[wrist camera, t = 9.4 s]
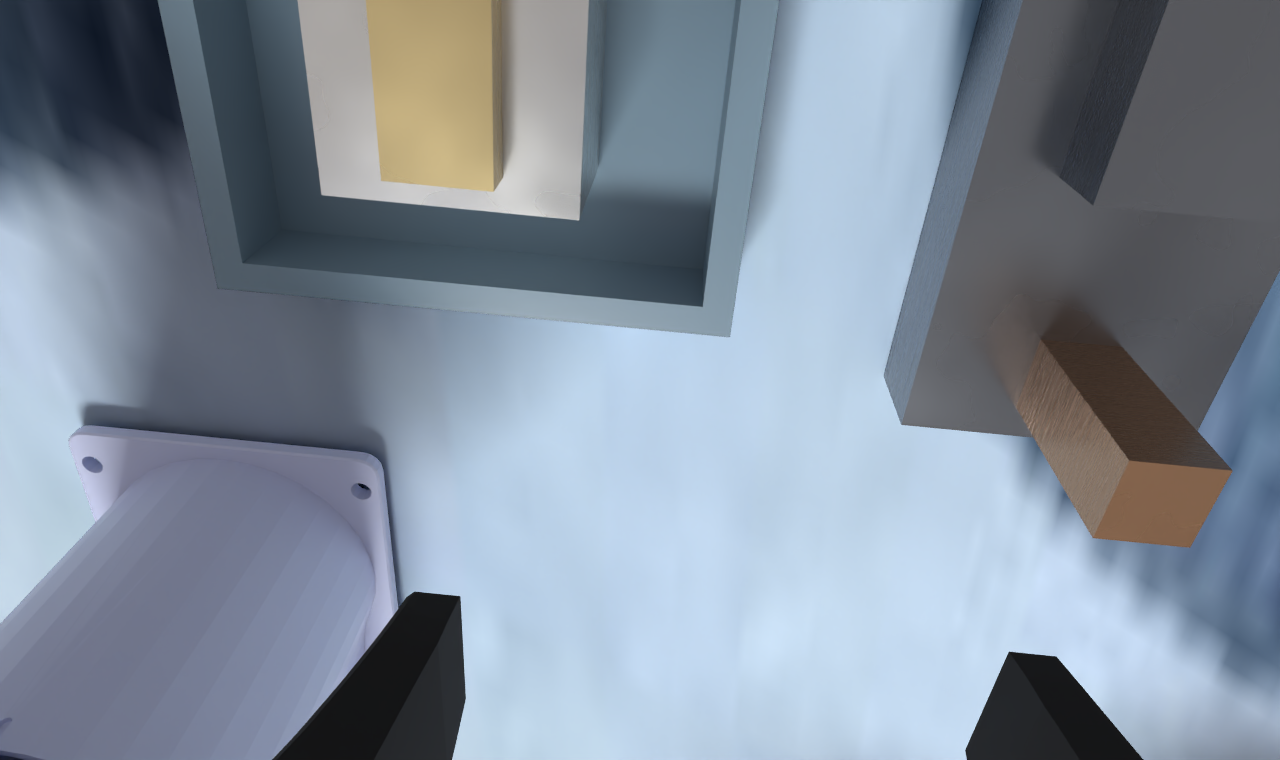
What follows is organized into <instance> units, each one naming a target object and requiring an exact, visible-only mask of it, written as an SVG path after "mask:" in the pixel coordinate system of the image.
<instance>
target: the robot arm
mask: <svg viewBox="0 0 1280 760" xmlns="http://www.w3.org/2000/svg"><path fill="white" fill-rule="evenodd" d="M69 447H70V450H71V453H72V456H73V459H74V461H75V464H76V467H77V470H78V473H79V476H80V479H81V482H82V484H83V487H84V490H85V493H86V496H87V499H88V502H89V505H90V508H91V510H92V513H93V516H94V519H95V522H96V523H95V524H94V525H93V526H92V527H91V528H90V529H89V530H88V531H87V532H86V533H85V534H84V535H83V536H82V538H81V539H80V540H79V541H78V542H77V543H76V544H75V545H74V546H73V547H72V548H71V549H70V550H69V551H68V552H67V553H66V555H65V556H64V557H63V558H62V559H61V560H60V561H59V562H58V563H57V564H56V565H55V566H54V567H53V568H52V569H51V571H50V572H49V573H48V574H47V575H46V576H45V577H44V578H43V579H42V580H41V581H40V582H39V583H38V584H37V585H36V586H35V588H34V589H33V590H32V591H31V592H30V593H29V594H28V595H27V596H26V597H25V598H24V599H23V600H22V601H21V602H20V604H19V605H18V606H17V607H16V608H15V609H14V610H13V611H12V612H11V613H10V614H9V615H8V616H7V617H6V618H5V619H4V621H3V622H2V623H1V624H0V760H452V757H453V753H454V748H455V744H456V740H457V735H458V731H459V726H460V722H461V717H462V713H463V708H464V704H465V699H466V695H465V676H464V658H463V639H462V620H461V601H460V596H452V595H442V594H432V593H422V592H414V593H412V594H411V595H409V596H408V597H406V599H405V600H404V602H403V603H402V604H401V606H400V607H399V608H398V601H397V592H396V583H395V573H394V564H393V555H392V546H391V536H390V527H389V518H388V509H387V499H386V490H385V481H384V472H383V467H382V464H381V463H380V462H379V460H378V459H377V458H376V457H374V456H372V455H371V454H368V453H364V452H357V451H347V450H337V449H327V448H317V447H307V446H296V445H286V444H276V443H266V442H256V441H246V440H235V439H225V438H215V437H205V436H195V435H185V434H174V433H164V432H154V431H144V430H134V429H124V428H113V427H103V426H93V425H87V426H82V427H81V428H79V429H78V430H76V431H75V432H74V433H73V434H72V435H71V436H70V438H69ZM94 458H96V459H97V460H99V461H100V462H101V463H100V462H98V461H97V460H95V459H94ZM358 483H361V484H364V485H366V486H368V487H369V488H370V490H366V489H363V488H361V487H360V486H359V485H358ZM965 751H966V757H967V760H1143V759H1142V758H1141V756H1140V755H1139V754H1138V753H1137V752H1136V750H1135V749H1134V748H1133V747H1132V746H1131V745H1130V743H1129V742H1128V741H1127V740H1126V739H1125V737H1124V736H1123V735H1122V734H1121V733H1120V732H1119V730H1118V729H1117V728H1116V727H1115V726H1114V724H1113V723H1112V722H1111V721H1110V720H1109V718H1108V717H1107V716H1106V715H1105V714H1104V713H1103V711H1102V710H1101V709H1100V708H1099V707H1098V705H1097V704H1096V703H1095V702H1094V701H1093V699H1092V698H1091V697H1090V696H1089V695H1088V693H1087V692H1086V691H1085V690H1084V689H1083V687H1082V686H1081V685H1080V684H1079V683H1078V682H1077V680H1076V679H1075V678H1074V677H1073V676H1072V674H1071V673H1070V672H1069V671H1068V670H1067V669H1066V667H1065V666H1064V665H1063V664H1062V663H1061V662H1060V660H1059V659H1058V658H1057V657H1055V656H1045V655H1035V654H1026V653H1016V652H1009V653H1008V655H1007V657H1006V660H1005V662H1004V664H1003V666H1002V669H1001V671H1000V673H999V675H998V678H997V680H996V682H995V684H994V687H993V689H992V691H991V693H990V696H989V698H988V700H987V702H986V705H985V707H984V709H983V711H982V714H981V716H980V718H979V721H978V723H977V725H976V727H975V730H974V732H973V734H972V736H971V739H970V741H969V743H968V745H967V748H966V750H965Z"/></svg>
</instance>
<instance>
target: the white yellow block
mask: <svg viewBox="0 0 1280 760" xmlns="http://www.w3.org/2000/svg"><path fill="white" fill-rule="evenodd" d="M297 1H298V9H299V17H300V25H301V33H302V41H303V49H304V57H305V65H306V73H307V82H308V90H309V98H310V106H311V114H312V122H313V130H314V138H315V146H316V154H317V162H318V171H319V179H320V187H321V195H325V196H336V197H346V198H356V199H366V200H376V201H387V202H397V203H407V204H417V205H427V206H438V207H448V208H458V209H468V210H478V211H488V212H499V213H509V214H519V215H529V216H539V217H550V218H560V219H570V220H580V217H581V215H582V212H583V209H584V206H585V203H586V201H587V198H588V195H589V192H590V189H591V187H592V184H593V181H594V178H595V175H596V173H597V170H598V164H599V145H600V127H601V108H602V89H603V70H604V52H605V33H606V14H607V0H297Z"/></svg>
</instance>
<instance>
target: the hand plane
mask: <svg viewBox="0 0 1280 760" xmlns="http://www.w3.org/2000/svg"><path fill="white" fill-rule="evenodd" d="M1279 271H1280V0H983V2H982V5H981V9H980V13H979V17H978V21H977V24H976V28H975V32H974V36H973V40H972V43H971V47H970V51H969V55H968V59H967V62H966V66H965V70H964V74H963V78H962V81H961V85H960V89H959V93H958V97H957V100H956V104H955V108H954V112H953V116H952V119H951V123H950V127H949V131H948V135H947V138H946V142H945V146H944V150H943V154H942V157H941V161H940V165H939V169H938V173H937V176H936V180H935V184H934V188H933V192H932V195H931V199H930V203H929V207H928V211H927V214H926V218H925V222H924V226H923V230H922V233H921V237H920V241H919V245H918V249H917V252H916V256H915V260H914V264H913V267H912V271H911V275H910V279H909V283H908V286H907V290H906V294H905V298H904V302H903V305H902V309H901V313H900V317H899V321H898V324H897V328H896V332H895V336H894V340H893V343H892V347H891V351H890V355H889V359H888V362H887V366H886V370H885V374H884V378H885V381H886V384H887V387H888V389H889V392H890V395H891V398H892V400H893V403H894V406H895V409H896V411H897V414H898V417H899V420H900V422H901V425H910V426H920V427H930V428H941V429H951V430H961V431H972V432H982V433H992V434H1003V435H1013V436H1023V437H1034V439H1035V441H1036V442H1037V444H1038V446H1039V447H1040V449H1041V451H1042V452H1043V454H1044V456H1045V458H1046V459H1047V461H1048V463H1049V464H1050V466H1051V468H1052V469H1053V471H1054V473H1055V475H1056V476H1057V478H1058V480H1059V481H1060V483H1061V485H1062V486H1063V488H1064V490H1065V491H1066V493H1067V495H1068V497H1069V498H1070V500H1071V502H1072V503H1073V505H1074V507H1075V508H1076V510H1077V512H1078V513H1079V515H1080V517H1081V519H1082V520H1083V522H1084V524H1085V525H1086V527H1087V529H1088V530H1089V532H1090V534H1091V536H1092V537H1093V538H1098V539H1108V540H1119V541H1129V542H1139V543H1149V544H1159V545H1169V546H1179V547H1191V545H1192V543H1193V541H1194V539H1195V538H1196V536H1197V534H1198V532H1199V530H1200V529H1201V527H1202V525H1203V523H1204V521H1205V520H1206V518H1207V516H1208V514H1209V512H1210V511H1211V509H1212V507H1213V505H1214V503H1215V502H1216V500H1217V498H1218V496H1219V494H1220V493H1221V491H1222V489H1223V487H1224V485H1225V484H1226V482H1227V480H1228V478H1229V476H1230V475H1231V473H1232V469H1231V468H1230V467H1229V466H1228V465H1227V464H1226V463H1225V462H1224V461H1223V459H1222V458H1221V457H1220V456H1219V455H1218V454H1217V453H1216V452H1215V450H1214V449H1213V448H1212V447H1211V446H1210V445H1209V444H1208V443H1207V441H1206V440H1205V439H1204V438H1203V437H1202V436H1201V435H1200V434H1199V432H1198V429H1199V427H1200V425H1201V423H1202V421H1203V419H1204V417H1205V415H1206V413H1207V411H1208V409H1209V407H1210V405H1211V404H1212V402H1213V400H1214V398H1215V396H1216V394H1217V392H1218V390H1219V388H1220V386H1221V384H1222V382H1223V380H1224V378H1225V376H1226V374H1227V372H1228V370H1229V368H1230V366H1231V364H1232V362H1233V361H1234V359H1235V357H1236V355H1237V353H1238V351H1239V349H1240V347H1241V345H1242V343H1243V341H1244V339H1245V337H1246V335H1247V333H1248V331H1249V329H1250V327H1251V325H1252V323H1253V321H1254V320H1255V318H1256V316H1257V314H1258V312H1259V310H1260V308H1261V306H1262V304H1263V302H1264V300H1265V298H1266V296H1267V294H1268V292H1269V290H1270V288H1271V286H1272V284H1273V282H1274V280H1275V278H1276V277H1277V275H1278V273H1279Z"/></svg>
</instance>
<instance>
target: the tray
mask: <svg viewBox="0 0 1280 760" xmlns="http://www.w3.org/2000/svg"><path fill="white" fill-rule="evenodd" d="M158 4H159V9H160V14H161V18H162V23H163V28H164V33H165V38H166V42H167V47H168V52H169V57H170V62H171V66H172V71H173V76H174V81H175V86H176V90H177V95H178V100H179V105H180V110H181V115H182V119H183V124H184V129H185V134H186V139H187V143H188V148H189V153H190V158H191V163H192V167H193V172H194V177H195V182H196V187H197V191H198V196H199V201H200V206H201V211H202V216H203V220H204V225H205V230H206V235H207V240H208V244H209V249H210V254H211V259H212V264H213V268H214V273H215V278H216V283H217V288H218V289H229V290H239V291H250V292H260V293H271V294H281V295H292V296H302V297H313V298H323V299H334V300H344V301H355V302H365V303H376V304H386V305H397V306H407V307H418V308H428V309H439V310H449V311H460V312H470V313H481V314H491V315H502V316H512V317H523V318H533V319H544V320H554V321H564V322H575V323H585V324H596V325H606V326H617V327H627V328H638V329H648V330H659V331H669V332H680V333H690V334H701V335H711V336H722V337H730V332H731V326H732V319H733V312H734V305H735V298H736V292H737V285H738V278H739V271H740V264H741V258H742V251H743V244H744V237H745V230H746V224H747V217H748V210H749V203H750V196H751V190H752V183H753V176H754V169H755V162H756V156H757V149H758V142H759V135H760V129H761V122H762V115H763V108H764V101H765V95H766V88H767V81H768V74H769V67H770V61H771V54H772V47H773V40H774V33H775V27H776V20H777V13H778V6H779V0H607V14H606V33H605V52H604V70H603V89H602V108H601V127H600V145H599V164H598V170H597V173H596V175H595V178H594V181H593V184H592V187H591V189H590V192H589V195H588V198H587V201H586V203H585V206H584V209H583V212H582V215H581V217H580V220H570V219H560V218H550V217H539V216H529V215H519V214H509V213H499V212H488V211H478V210H468V209H458V208H448V207H438V206H427V205H417V204H407V203H397V202H387V201H376V200H366V199H356V198H346V197H336V196H325V195H321V187H320V179H319V171H318V162H317V154H316V146H315V138H314V130H313V122H312V114H311V106H310V98H309V90H308V82H307V73H306V65H305V57H304V49H303V41H302V33H301V25H300V17H299V9H298V1H297V0H158Z"/></svg>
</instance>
